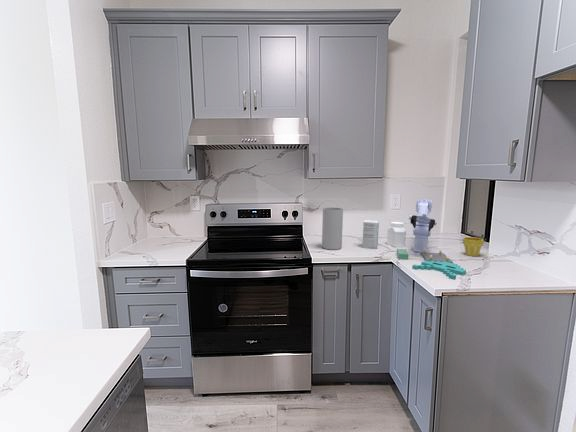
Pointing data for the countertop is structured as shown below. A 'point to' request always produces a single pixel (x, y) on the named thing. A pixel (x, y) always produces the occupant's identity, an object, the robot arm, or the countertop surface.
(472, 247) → the plant pot
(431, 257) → the chassis
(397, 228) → the jar
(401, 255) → the green block
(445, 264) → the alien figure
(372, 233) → the supplement box
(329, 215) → the cylinder vase
